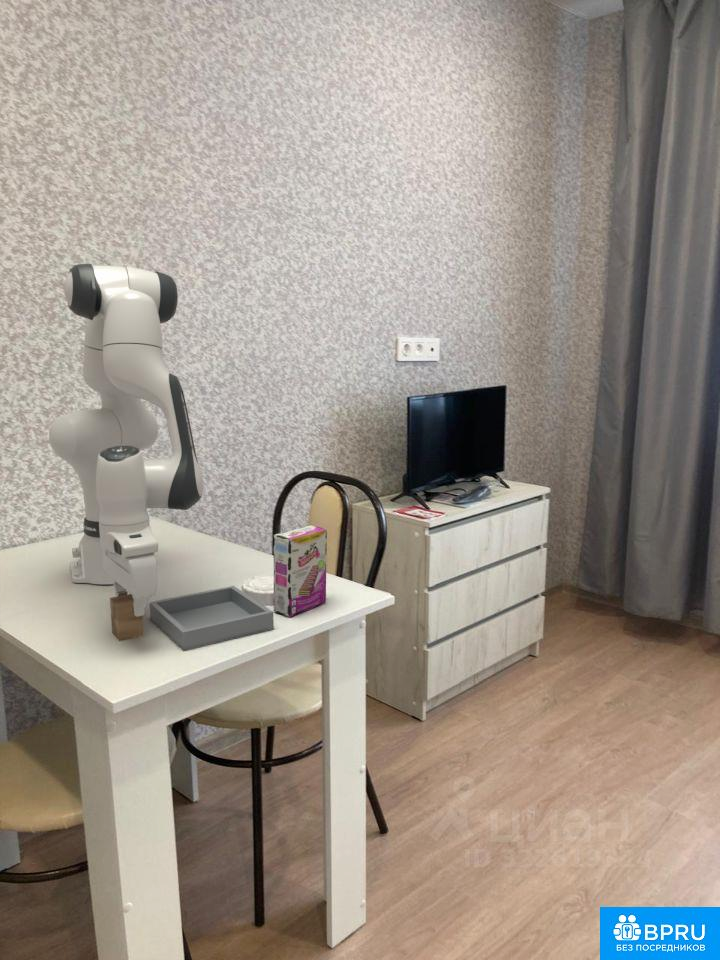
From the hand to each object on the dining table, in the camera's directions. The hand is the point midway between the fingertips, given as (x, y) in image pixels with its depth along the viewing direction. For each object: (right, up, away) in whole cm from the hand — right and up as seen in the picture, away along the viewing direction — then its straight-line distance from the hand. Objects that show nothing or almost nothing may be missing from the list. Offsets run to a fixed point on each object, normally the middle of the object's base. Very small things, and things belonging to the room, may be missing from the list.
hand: (130, 607), depth 138 cm
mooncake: (+23, -2, +22) cm, 32 cm away
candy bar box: (+31, -3, +15) cm, 34 cm away
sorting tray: (+14, -4, +6) cm, 16 cm away
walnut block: (-1, -5, +1) cm, 5 cm away
